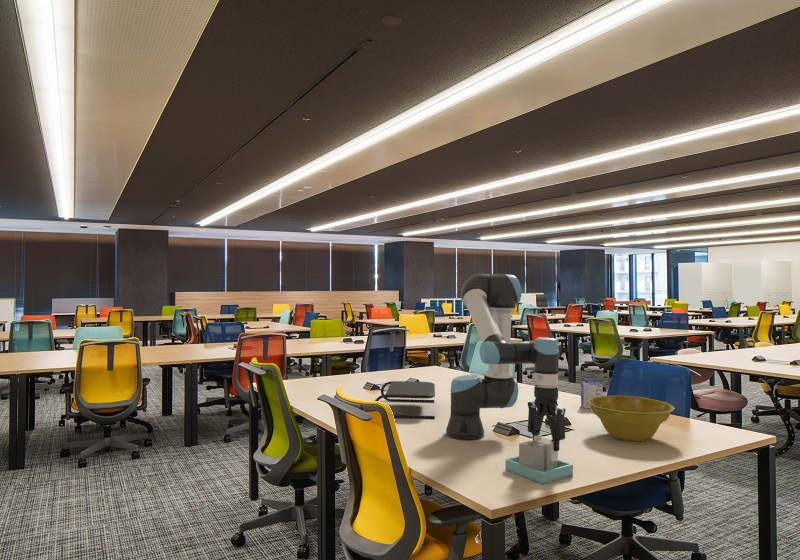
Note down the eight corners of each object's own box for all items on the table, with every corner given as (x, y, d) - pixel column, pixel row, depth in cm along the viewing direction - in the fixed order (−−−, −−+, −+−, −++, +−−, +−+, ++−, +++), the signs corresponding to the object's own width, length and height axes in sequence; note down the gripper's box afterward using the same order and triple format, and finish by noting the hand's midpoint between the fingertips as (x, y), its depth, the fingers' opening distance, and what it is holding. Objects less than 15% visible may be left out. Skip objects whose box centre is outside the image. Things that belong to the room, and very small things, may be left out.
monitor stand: (434, 419, 240) (435, 395, 240) (373, 418, 242) (373, 394, 242) (434, 402, 277) (434, 381, 277) (380, 401, 279) (381, 380, 279)
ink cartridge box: (599, 406, 271) (599, 377, 272) (603, 408, 266) (603, 379, 266) (580, 406, 271) (580, 377, 272) (583, 408, 266) (583, 379, 266)
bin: (505, 470, 172) (505, 459, 172) (535, 462, 180) (535, 452, 180) (542, 484, 160) (542, 472, 160) (572, 475, 168) (572, 464, 168)
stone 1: (530, 468, 172) (530, 440, 172) (544, 473, 167) (544, 444, 168) (518, 471, 169) (519, 443, 169) (532, 477, 164) (532, 447, 165)
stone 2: (543, 465, 176) (543, 437, 176) (557, 469, 171) (557, 441, 172) (533, 468, 172) (533, 440, 172) (547, 473, 168) (547, 444, 168)
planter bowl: (622, 451, 195) (622, 414, 195) (571, 428, 226) (571, 396, 226) (693, 445, 203) (694, 409, 204) (635, 424, 235) (635, 393, 235)
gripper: (516, 382, 178) (515, 452, 178) (562, 391, 163) (562, 468, 162) (531, 380, 182) (531, 449, 182) (578, 389, 167) (577, 464, 166)
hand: (545, 458), depth 172 cm, fingers closed on stone 2, 6 cm apart
